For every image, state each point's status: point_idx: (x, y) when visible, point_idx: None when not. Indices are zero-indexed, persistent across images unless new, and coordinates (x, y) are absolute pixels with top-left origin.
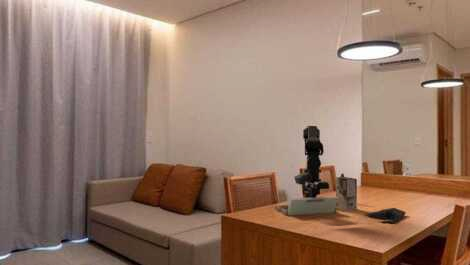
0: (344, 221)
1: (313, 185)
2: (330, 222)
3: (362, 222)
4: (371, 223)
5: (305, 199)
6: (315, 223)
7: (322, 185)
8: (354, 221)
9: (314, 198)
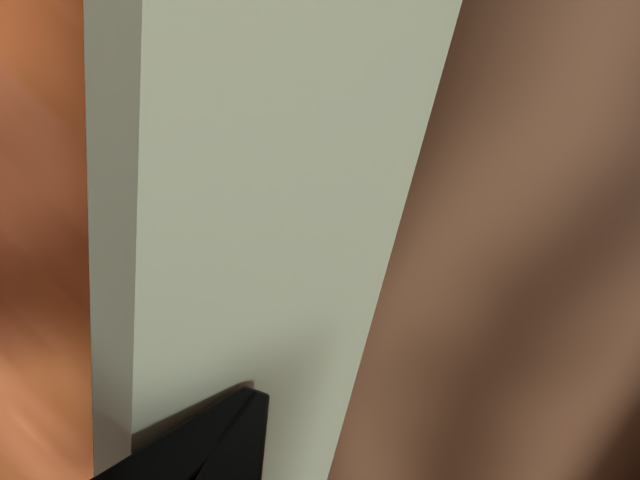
0: (84, 385)
1: None
2: (83, 261)
3: (33, 455)
4: (2, 473)
5: (88, 157)
6: (84, 87)
7: None
8: (67, 440)
9: (107, 441)
